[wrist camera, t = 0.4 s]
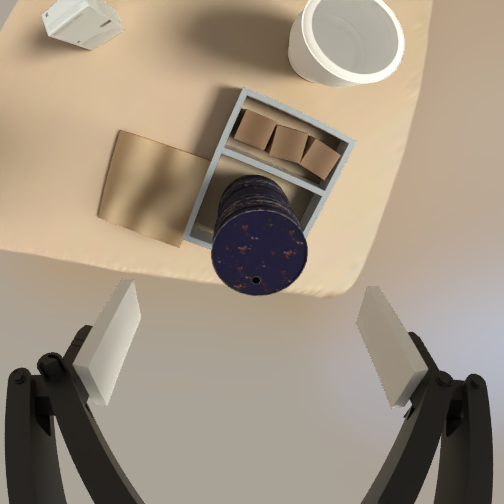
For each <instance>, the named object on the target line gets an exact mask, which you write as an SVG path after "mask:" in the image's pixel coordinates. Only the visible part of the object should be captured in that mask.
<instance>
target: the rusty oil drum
mask: <svg viewBox="0 0 504 504" xmlns="http://www.w3.org/2000/svg"><path fill="white" fill-rule="evenodd" d="M307 256H308V247H307V242H306V239H305V236H304V234H303V231H302V228H301V225H300V223H299V221H298V219H297V217H296V215H295V213H294V212H293V210H292V209H291V206H290V203H289V201H288V198H287V196H286V195H285V193H284V192H283V191H282V189H281V187H280V186H279V185H278V184H277V183H276V182H274V181H273V180H271V179H269V178H267V177H264V176H260V175H247V176H244V177H241V178H239V179H237V180H235V181H233V182H232V183H231V184H230V185H229V186H228V187H227V188H226V190H225V191H224V193H223V196H222V198H221V201H220V204H219V209H218V219H217V221H216V224H215V228H214V234H213V240H212V249H211V259H212V264H213V267H214V270H215V272H216V274H217V275H218V277H219V278H220V279H221V280H222V282H223V283H225V284H226V285H227V286H228V287H230V288H231V289H233V290H235V291H237V292H240V293H243V294H246V295H253V296H263V295H270V294H273V293H277V292H279V291H282V290H283V289H285V288H287V287H288V286H290V285H291V284H292V283H293V282H294V281H295V280H296V279H297V278H298V277H299V276H300V274H301V273H302V271H303V269H304V267H305V265H306V262H307Z"/></svg>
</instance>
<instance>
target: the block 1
mask: <svg viewBox="0 0 504 504" xmlns="http://www.w3.org/2000/svg"><path fill="white" fill-rule="evenodd" d="M276 123H277V122H276V121H274V120H271V119H269V118H267V117H264V116H262V115H260V114H257V113H255V112H253V111H250V110H248V109H246V111H245V113H244V116H243V118H242V120H241V122H240V125H239V127H238V129H237V131H236V134H235V136H234V139H237V140H239V141H242V142H244V143H247V144H249V145H252V146H254V147H256V148H259V149H261V150H264V149H265V147H266V145H267V143H268V141H269V138H270V136H271V134H272V132H273V130H274V128H275V126H276Z"/></svg>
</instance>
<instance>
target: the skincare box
mask: <svg viewBox="0 0 504 504" xmlns="http://www.w3.org/2000/svg"><path fill="white" fill-rule="evenodd" d="M41 16H42V19H43V22H44V25H45V28H46V31H47V34H48V36H49V37H52V38H55V39H58V40H62V41H65V42H68V43H71V44H74V45H77V46H80V47H83V48H86V49H89V50H93V49H95V48H97V47H98V46H100V45H102V44H103V43H105V42H107V41H108V40H110V39H111V38H113V37H115V36H116V35H118V34H119V33H121V32H122V31H124V28H123V25H122V23H121V21H120V18H119V16H118V13H117V11H116V10H115V9H113V8H112V7H111V6H109V5H108V4H107V3H105V2H104V1H103V0H58V1H57V2H56V3H55V4H54V5H53V6H51V7H50V8H49V9H48V10H46V11H45V12H44V13H43V14H42V15H41Z"/></svg>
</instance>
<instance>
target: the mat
mask: <svg viewBox="0 0 504 504" xmlns="http://www.w3.org/2000/svg"><path fill="white" fill-rule="evenodd" d="M210 163H211V161H209V160H207V159H204V158H201V157H199V156H196V155H193V154H190V153H188V152H185V151H182V150H179V149H177V148H174V147H171V146H168V145H165V144H162V143H159V142H156V141H153V140H150V139H147V138H144V137H141V136H138V135H135V134H132V133H129V132H126V131H122V130H121V131H120V133H119V136H118V140H117V143H116V146H115V150H114V153H113V157H112V160H111V164H110V168H109V172H108V176H107V180H106V184H105V188H104V192H103V197H102V201H101V206H100V211H99V216H98V218H101V219H103V220H106V221H109V222H111V223H114V224H117V225H119V226H122V227H124V228H127V229H130V230H132V231H135V232H138V233H140V234H143V235H146V236H148V237H151V238H154V239H157V240H159V241H162V242H165V243H167V244H170V245H173V246H176V247H178V248H180V245H181V242H182V238H183V235H184V232H185V229H186V226H187V223H188V221H189V218H190V215H191V213H192V210H193V207H194V204H195V202H196V199H197V196H198V194H199V191H200V189H201V186H202V183H203V181H204V178H205V176H206V173H207V171H208V168H209V166H210Z"/></svg>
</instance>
